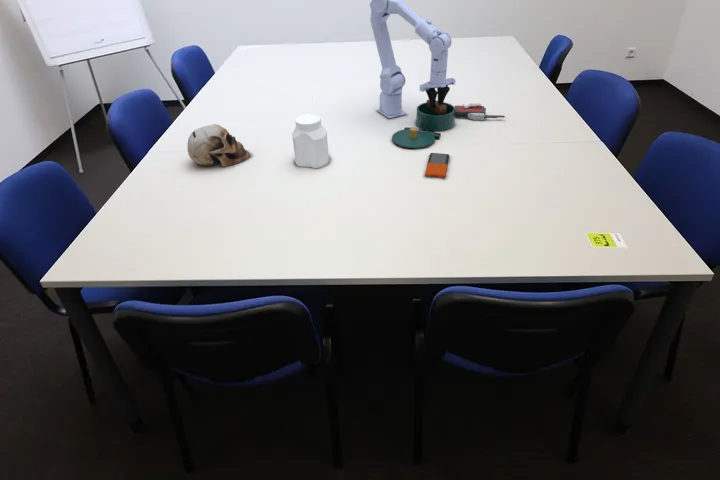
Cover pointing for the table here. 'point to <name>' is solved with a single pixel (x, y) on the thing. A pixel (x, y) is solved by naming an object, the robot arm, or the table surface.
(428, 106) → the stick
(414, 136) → the tin lid
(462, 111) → the walkie-talkie
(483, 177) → the table surface
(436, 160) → the phone
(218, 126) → the coin bank
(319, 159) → the jar
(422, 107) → the tin
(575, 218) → the table surface
